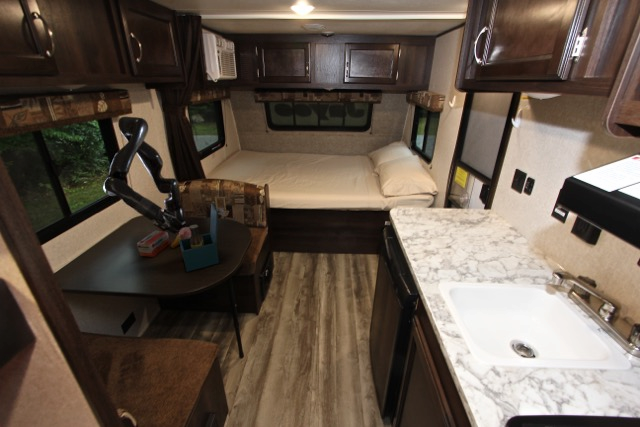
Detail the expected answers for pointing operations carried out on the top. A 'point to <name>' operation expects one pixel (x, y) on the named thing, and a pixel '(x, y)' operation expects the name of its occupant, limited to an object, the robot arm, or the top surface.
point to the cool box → (199, 253)
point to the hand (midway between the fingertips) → (178, 228)
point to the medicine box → (153, 243)
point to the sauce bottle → (195, 237)
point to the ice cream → (181, 236)
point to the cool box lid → (215, 221)
